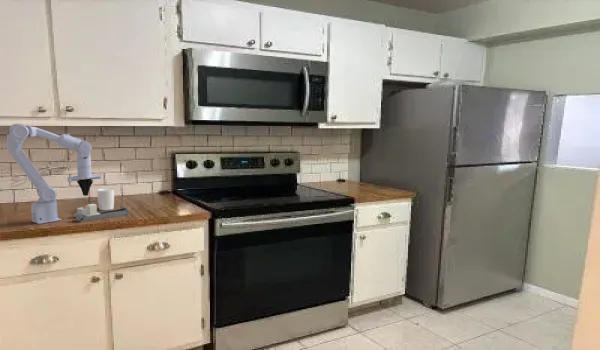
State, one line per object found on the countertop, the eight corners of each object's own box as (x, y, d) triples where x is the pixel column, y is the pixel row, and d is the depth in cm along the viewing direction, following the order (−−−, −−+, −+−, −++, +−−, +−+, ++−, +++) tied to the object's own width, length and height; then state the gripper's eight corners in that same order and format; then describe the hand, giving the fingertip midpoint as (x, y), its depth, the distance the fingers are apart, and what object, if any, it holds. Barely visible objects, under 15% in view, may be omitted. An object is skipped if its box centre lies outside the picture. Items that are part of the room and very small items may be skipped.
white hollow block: (82, 218, 186) (82, 209, 186) (77, 216, 189) (77, 208, 188) (95, 215, 191) (95, 207, 190) (90, 214, 194) (90, 206, 193)
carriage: (87, 218, 181) (86, 206, 180) (83, 217, 183) (83, 205, 182) (100, 216, 186) (99, 204, 185) (96, 215, 188) (96, 203, 187)
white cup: (96, 210, 201) (95, 191, 200) (99, 207, 209) (98, 188, 207) (113, 210, 203) (112, 190, 202) (116, 207, 211) (115, 188, 210)
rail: (81, 222, 178) (80, 215, 178) (76, 220, 181) (75, 213, 181) (128, 214, 196) (127, 207, 195) (122, 212, 199) (122, 206, 198)
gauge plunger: (85, 216, 188) (84, 206, 188) (82, 215, 190) (82, 206, 189) (90, 215, 190) (89, 206, 190) (87, 214, 192) (87, 205, 191)
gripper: (71, 168, 179) (73, 198, 181) (104, 166, 190) (105, 194, 192) (64, 167, 183) (66, 196, 185) (96, 164, 194) (97, 192, 196)
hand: (85, 195), depth 189 cm, fingers closed
